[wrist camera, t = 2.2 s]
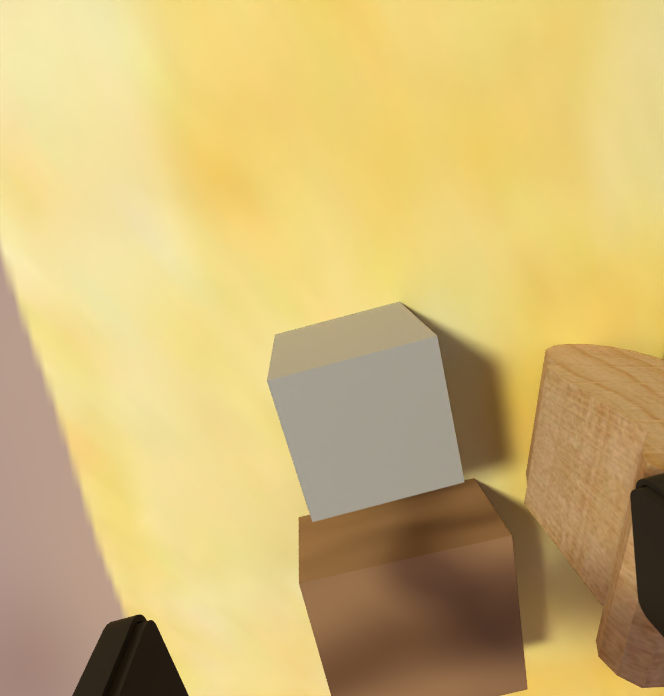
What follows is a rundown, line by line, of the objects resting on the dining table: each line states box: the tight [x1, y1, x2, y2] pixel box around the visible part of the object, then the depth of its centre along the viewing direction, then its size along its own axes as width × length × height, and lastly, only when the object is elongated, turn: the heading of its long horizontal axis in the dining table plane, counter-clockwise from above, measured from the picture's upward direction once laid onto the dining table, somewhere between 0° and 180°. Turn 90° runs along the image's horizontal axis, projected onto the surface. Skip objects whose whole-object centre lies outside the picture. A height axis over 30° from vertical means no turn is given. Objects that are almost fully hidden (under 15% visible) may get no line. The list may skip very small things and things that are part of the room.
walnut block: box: [299, 478, 527, 696], centre depth 20 cm, size 8×8×4 cm
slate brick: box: [267, 302, 465, 522], centre depth 16 cm, size 5×5×5 cm
